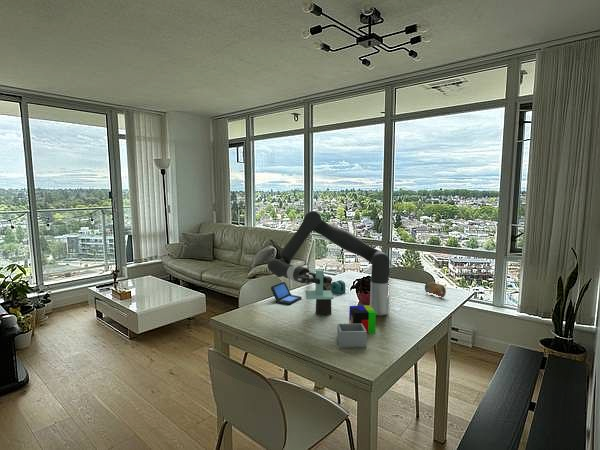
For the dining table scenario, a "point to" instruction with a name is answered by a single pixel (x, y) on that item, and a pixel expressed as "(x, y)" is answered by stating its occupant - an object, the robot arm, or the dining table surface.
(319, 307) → the container
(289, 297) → the handheld game console
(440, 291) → the wooden scrub brush
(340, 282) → the teal rounded piece
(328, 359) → the dining table surface
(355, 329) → the tub
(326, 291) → the lid
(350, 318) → the puzzle toy
